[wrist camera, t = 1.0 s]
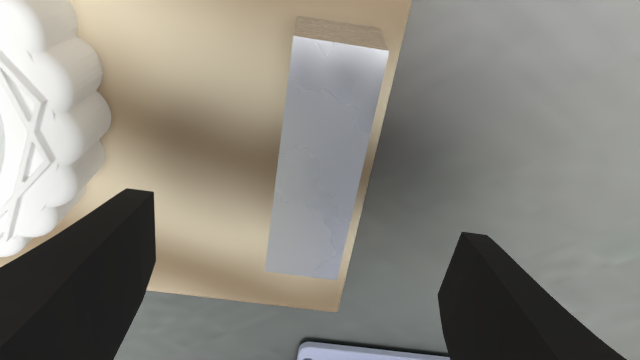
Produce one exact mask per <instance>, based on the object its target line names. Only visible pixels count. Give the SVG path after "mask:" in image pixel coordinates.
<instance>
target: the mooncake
mask: <svg viewBox="0 0 640 360" xmlns="http://www.w3.org/2000/svg"><path fill="white" fill-rule="evenodd" d="M77 29H78V22H77V17H76V13H75V11H74V9H73V7H72V5H71V3H70V2H69V0H0V257H8V256H12V255H15V254H16V253H18V252H20V251H21V250H22V249H23V248H24V247H25V246H26V245H27V244H28V243H29V242H30V241H31V240H32V239H33V238H34V237H39V236H43V235H45V234H47V233H49V232H51V231H52V230H53V229H54V228H55V227H56V226H57V225H58V223H59V222H60V221H61V220H62V219H63V218H64V217H65V216H66V215H67V213H68V212H69V211H70V210H71V209H72V208H73V207H74V206H75V204H76V203H77V202H78V201H79V200H80V199H81V198H82V196H83V195H84V193H85V191H86V184H87V183H88V182H89V181H90V180H91V178H92V177H93V176H94V175H95V174H96V173H97V172H98V171H99V170H100V169H101V167H102V166H103V164H104V161H105V152H104V148H103V145H102V144H101V142H100V140H99V139H100V138H101V137H102V136H103V135H104V134H105V133H106V132H107V130H108V129H109V127H110V124H111V112H110V108H109V106H108V104H107V102H106V100H105V99H104V98H103V96H102V95H101V94H100V93H99V92H98V91H97V89H98V87H99V86H100V84H101V81H102V76H103V70H102V65H101V62H100V59H99V57H98V55H97V54H96V52H95V51H94V50H93V48H92V47H91V46H90V45H89V44H88V43H87V42H85V41H84V40H83V39H81V38H79V37H77Z"/></svg>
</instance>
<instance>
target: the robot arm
mask: <svg viewBox="0 0 640 360" xmlns="http://www.w3.org/2000/svg"><path fill="white" fill-rule="evenodd" d="M155 263H156V242H155V211H154V192H152V191H145V190H137V189H129V188H126V189H125V190H123V191H121V192H120V193H118V194H117V195H115V196H114V197H112V198H111V199H109V200H108V201H106V202H105V203H103V204H102V205H100V206H99V207H98V208H96V209H95V210H93V211H92V212H90V213H89V214H87V215H86V216H84V217H83V218H81V219H80V220H78V221H77V222H75V223H73V224H72V225H70V226H69V227H67V228H66V229H64V230H63V231H61V232H60V233H58V234H57V235H55V236H53V237H52V238H50V239H48V240H47V241H45V242H43V243H41V244H40V245H38V246H36V247H35V248H33V249H31V250H30V251H28V252H26V253H25V254H23V255H21V256H19V257H18V258H16V259H14V260H13V261H11V262H9V263H7V264H5V265H4V266H2V267H0V360H113V359H114V357H115V355H116V353H117V351H118V349H119V347H120V345H121V343H122V341H123V339H124V337H125V335H126V333H127V331H128V329H129V327H130V325H131V323H132V321H133V319H134V317H135V315H136V313H137V311H138V309H139V307H140V304H141V302H142V300H143V298H144V295H145V292H146V289H147V287H148V284H149V281H150V278H151V275H152V272H153V269H154V266H155ZM438 300H439V308H440V316H441V323H442V329H443V335H444V339H445V342H446V346H447V350H448V353H449V357H443V356H434V355H425V354H416V353H407V352H398V351H390V350H381V349H372V348H363V347H354V346H345V345H336V344H327V343H318V342H304V343H302V344H301V345H300V347H299V350H298V355H297V360H626V359H625V358H624V357H622V356H621V355H620V354H618V353H617V352H616V351H614V350H613V349H612V348H610V347H609V346H608V345H607V344H605V343H604V342H603V341H602V340H601V339H599V338H598V337H597V336H596V335H594V334H593V333H592V332H591V331H590V330H589V329H587V328H586V327H585V326H584V325H583V324H582V323H580V322H579V321H578V320H577V319H576V318H575V317H574V316H572V315H571V314H570V313H569V312H568V311H567V310H566V309H565V308H563V307H562V306H561V305H560V304H559V303H558V302H557V301H556V300H555V299H554V298H553V297H551V296H550V295H549V294H548V293H547V292H546V291H545V290H544V289H543V288H542V287H541V286H540V285H539V284H538V283H537V282H536V281H535V280H534V279H533V278H532V277H531V276H530V275H528V274H527V273H526V272H525V271H524V270H523V269H522V268H521V267H520V266H519V265H518V264H517V263H516V262H515V261H514V260H513V259H512V258H511V257H510V256H509V255H508V254H507V253H506V252H505V251H504V250H503V249H502V248H501V247H500V246H499V245H498V244H496V243H495V242H494V241H493V240H492V239H491V238H490V237H488V236H487V235H482V234H475V233H467V232H462V233H461V235H460V238H459V241H458V243H457V246H456V248H455V251H454V254H453V256H452V259H451V261H450V264H449V267H448V269H447V272H446V274H445V277H444V280H443V282H442V285H441V287H440V290H439V293H438Z"/></svg>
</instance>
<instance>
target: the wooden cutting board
mask: <svg viewBox="0 0 640 360" xmlns="http://www.w3.org/2000/svg"><path fill="white" fill-rule="evenodd" d="M69 2H70V3H71V5H72V7H73V9H74V11H75V13H76V17H77V22H78V29H77V37H79V38H81V39H83V40H84V41H85V42H87V43H88V44H89V45H90V46H91V47H92V48H93V50H94V51H95V52H96V54H97V55H98V57H99V59H100V62H101V65H102V70H103V76H102V81H101V84H100V86H99V87H98V89H97V91H98V92H99V93H100V94H101V95H102V96H103V98H104V99H105V100H106V102H107V104H108V106H109V108H110V112H111V124H110V127H109V129H108V130H107V132H106V133H105V134H104V135H103V136H102V137H101V138H100V139H99V140H100V142H101V144H102V145H103V148H104V152H105V161H104V164H103V166H102V167H101V169H100V170H99V171H98V172H97V173H96V174H95V175H94V176H93V177H92V178H91V180H90V181H89V182H88V183H87V184H86V191H85V193H84V195H83V196H82V198H81V199H80V200H79V201H78V202H77V203H76V204H75V206H74V207H73V208H72V209H71V210H70V211H69V212H68V213H67V215H66V216H65V217H64V218H63V219H62V220H61V221H60V222H59V223H58V225H57V226H56V227H55V228H54V229H53V230H52V231H51V232H49V233H47V234H45V235H43V236H39V237H34V238H33V239H32V240H31V241H30V242H29V243H28V244H27V245H26V246H25V247H24V248H23V249H22V250H21V251H20V252H18V253H16V254H15V255H12V256H8V257H0V267H2V266H4V265H5V264H7V263H9V262H11V261H13V260H14V259H16V258H18V257H19V256H21V255H23V254H25V253H26V252H28V251H30V250H31V249H33V248H35V247H36V246H38V245H40V244H41V243H43V242H45V241H47V240H48V239H50V238H52V237H53V236H55V235H57V234H58V233H60V232H61V231H63V230H64V229H66V228H67V227H69V226H70V225H72V224H73V223H75V222H77V221H78V220H80V219H81V218H83V217H84V216H86V215H87V214H89V213H90V212H92V211H93V210H95V209H96V208H98V207H99V206H100V205H102V204H103V203H105V202H106V201H108V200H109V199H111V198H112V197H114V196H115V195H117V194H118V193H120V192H121V191H123V190H125V189H126V188H129V189H137V190H145V191H152V192H154V211H155V242H156V263H155V266H154V269H153V272H152V275H151V278H150V281H149V284H148V287H147V289H146V290H149V291H158V292H166V293H175V294H183V295H192V296H200V297H209V298H217V299H226V300H235V301H243V302H252V303H260V304H269V305H277V306H286V307H294V308H303V309H311V310H320V311H329V312H338V308H339V304H340V300H341V295H342V291H343V287H344V283H345V279H346V275H347V270H348V266H349V262H350V258H351V254H352V249H353V245H354V241H355V237H356V233H357V229H358V224H359V220H360V216H361V212H362V208H363V204H364V199H365V195H366V191H367V187H368V183H369V179H370V174H371V170H372V166H373V162H374V158H375V154H376V149H377V145H378V141H379V137H380V133H381V128H382V124H383V120H384V116H385V112H386V108H387V103H388V99H389V95H390V91H391V87H392V83H393V78H394V74H395V70H396V66H397V62H398V58H399V53H400V49H401V45H402V41H403V37H404V32H405V28H406V24H407V20H408V16H409V12H410V7H411V3H412V0H69Z"/></svg>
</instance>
